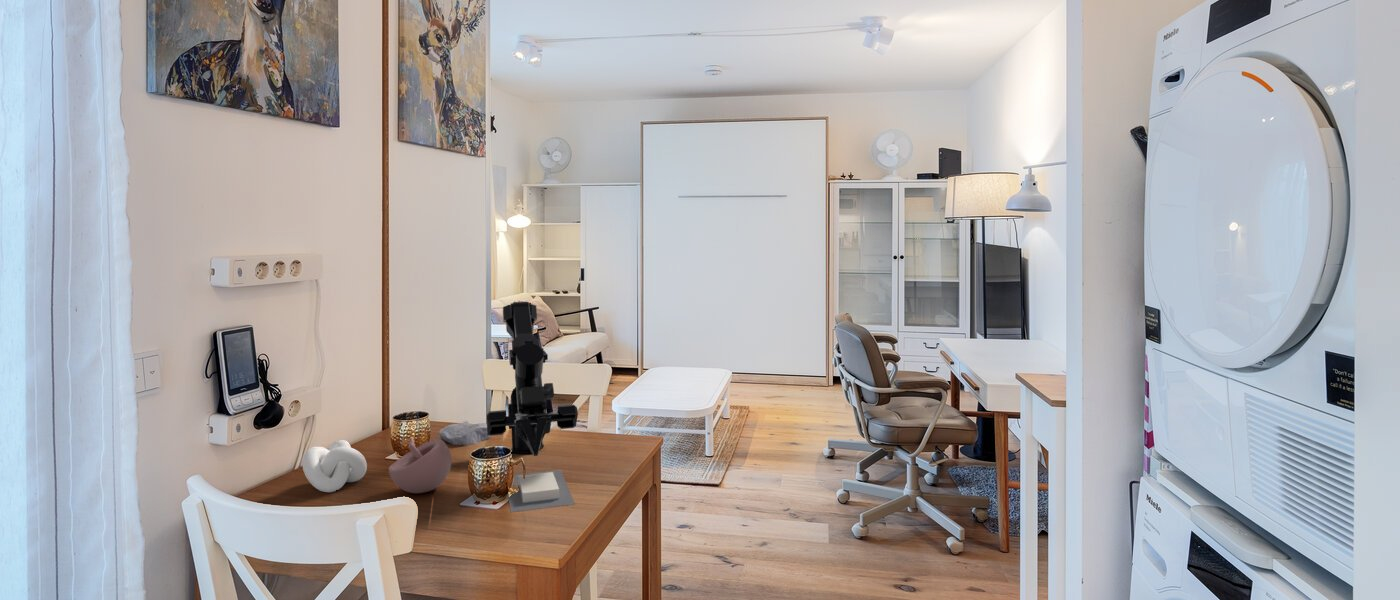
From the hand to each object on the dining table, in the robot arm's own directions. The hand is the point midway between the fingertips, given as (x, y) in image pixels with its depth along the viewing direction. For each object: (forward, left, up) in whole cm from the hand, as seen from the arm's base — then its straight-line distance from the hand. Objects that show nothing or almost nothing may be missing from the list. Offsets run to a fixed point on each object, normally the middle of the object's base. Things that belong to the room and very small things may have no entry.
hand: (535, 455), depth 144 cm
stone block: (-36, +31, -8) cm, 48 cm away
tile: (-1, +2, -6) cm, 6 cm away
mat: (+1, -1, -7) cm, 7 cm away
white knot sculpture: (-44, -6, -7) cm, 45 cm away
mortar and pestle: (-23, -6, -7) cm, 25 cm away
